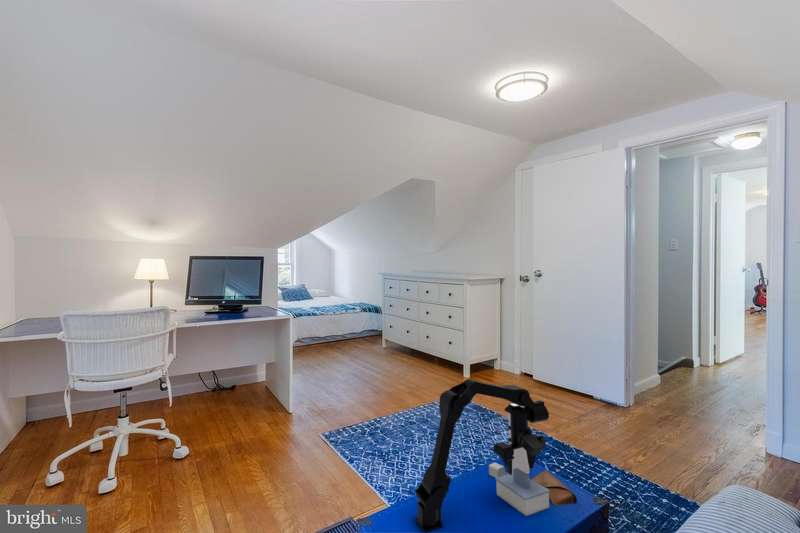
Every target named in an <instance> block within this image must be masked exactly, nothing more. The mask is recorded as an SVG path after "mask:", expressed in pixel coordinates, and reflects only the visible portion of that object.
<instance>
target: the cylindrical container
mask: <svg viewBox="0 0 800 533" xmlns="http://www.w3.org/2000/svg"><path fill="white" fill-rule="evenodd" d="M510 405H512V406H518V405H517V404H515V403H510ZM521 407H522V406H521ZM524 407H525V406H524ZM507 415H508V416H507V417H508V426H510V425H511V424H510V413H508V412H507ZM508 438H511V430H509V429H508ZM508 442H509V441H508ZM510 444H511V442H509V444H508V445H510ZM513 456H514V457H515V458H514V459H513V460H512V473H513V469H514V468H518V469H520V470H521V471H523V472H525V473H526V474H528V475H530V468H529V464H528V459H527V453H526V450H525V449H524V448H521V449H517V450H514V455H513Z"/></svg>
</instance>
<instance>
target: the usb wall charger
mask: <svg viewBox="0 0 800 533" xmlns="http://www.w3.org/2000/svg"><path fill="white" fill-rule="evenodd" d="M508 474H509V473H508V472H506V467H505V465H501V464H499V463H497V462H492V463H490V464H489V465H488V475H489V476H491V477H493V478H494V479H495V478H498V477H501V476H505V475H508Z"/></svg>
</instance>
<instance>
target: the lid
mask: <svg viewBox="0 0 800 533" xmlns="http://www.w3.org/2000/svg"><path fill="white" fill-rule="evenodd" d="M494 479H495V481H498V482H499V483H501V484H502V485H504V486H505V487H507V488H508V489H509V490H511V491H512V492H514V493H515V494H517V495H518V496H520V497H521V498H523V499H524V500H528V499H531V498H534V497H537V496H540V495H543V494H546V493H548V492H550V490H548V489H547V488H545V487H543V486H542V485H540V484H538V483H537V482H535V481H533V480H532V479H533V478H530V474H526V473H525V472H523V471H521V470H520V469H518V468H514V469H513V473H512V475H510V474H509V473H508V474H507V475H506V474H505V476H501V477H498V478H495V477H494Z"/></svg>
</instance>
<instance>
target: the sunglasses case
mask: <svg viewBox="0 0 800 533" xmlns="http://www.w3.org/2000/svg"><path fill="white" fill-rule="evenodd" d="M531 479H532V480H533V481H535V482H537V483H538V484H540V485H542V486H543V487H545V488H547V489H548V490H550V492H549V502H550V503H551V504H552V505H553V506H554V507H555V506H562V505H563V506H564V505H571V504H572V505H573V504H575V505H576V504H577V503H578V498H577V496H576V495H575V493H573V491H571V490H570V489H569V488H568V487H567V486H566V485H564V484H563V482H561V480H559V479H558V478H557V477H555V475H554V474H552V473H551V472H549V470H547V469H546V468H545V470H544V471H542V472H540V473H539V474H537V475H536V476H534V477H532V478H531Z"/></svg>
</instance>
